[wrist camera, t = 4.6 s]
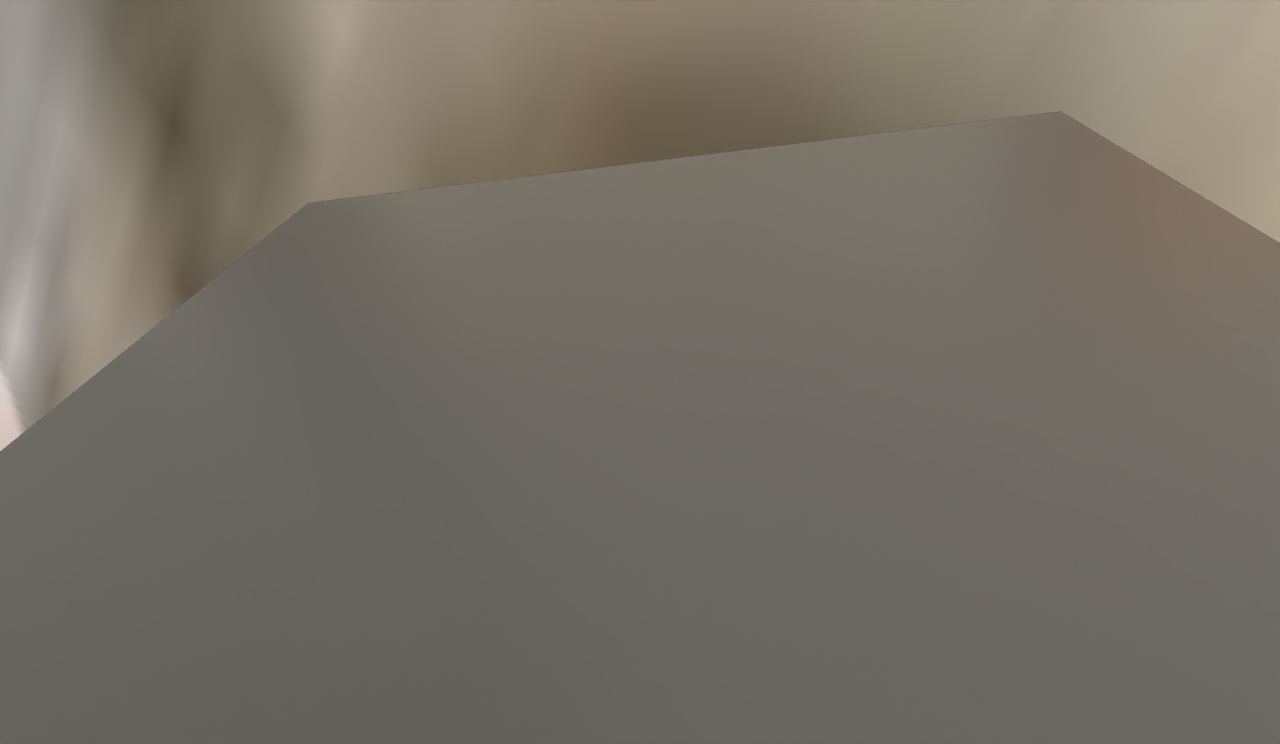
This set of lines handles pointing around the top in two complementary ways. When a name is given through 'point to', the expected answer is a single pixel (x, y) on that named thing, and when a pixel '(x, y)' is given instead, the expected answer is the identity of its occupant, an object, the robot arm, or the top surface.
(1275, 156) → the top surface
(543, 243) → the grey block
